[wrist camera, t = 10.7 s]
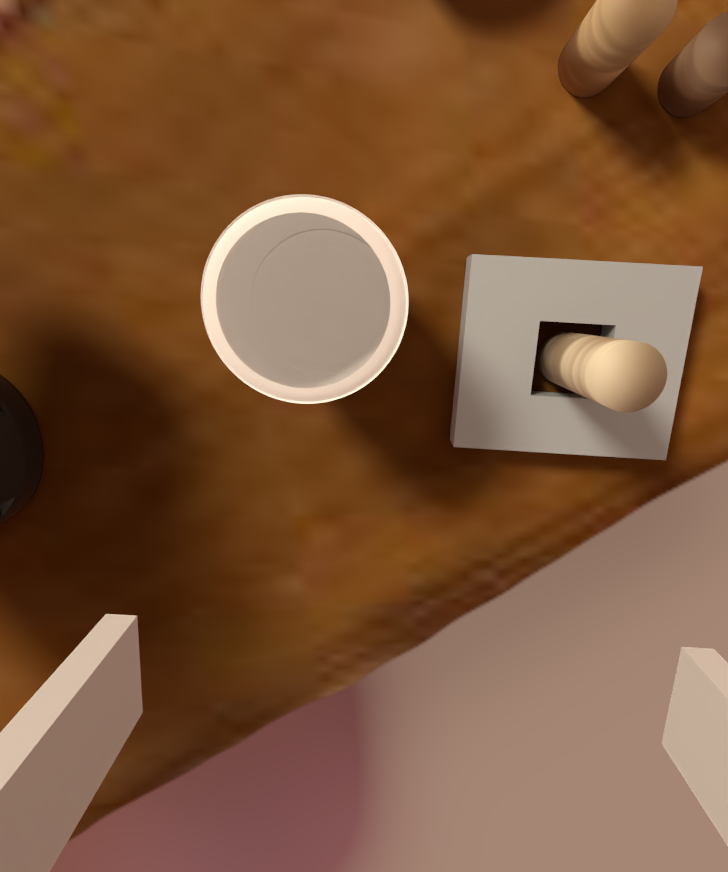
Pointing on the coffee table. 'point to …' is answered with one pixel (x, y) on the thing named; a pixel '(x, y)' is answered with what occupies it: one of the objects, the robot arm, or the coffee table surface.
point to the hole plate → (517, 341)
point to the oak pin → (610, 42)
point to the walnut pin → (697, 72)
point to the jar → (304, 299)
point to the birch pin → (604, 369)
